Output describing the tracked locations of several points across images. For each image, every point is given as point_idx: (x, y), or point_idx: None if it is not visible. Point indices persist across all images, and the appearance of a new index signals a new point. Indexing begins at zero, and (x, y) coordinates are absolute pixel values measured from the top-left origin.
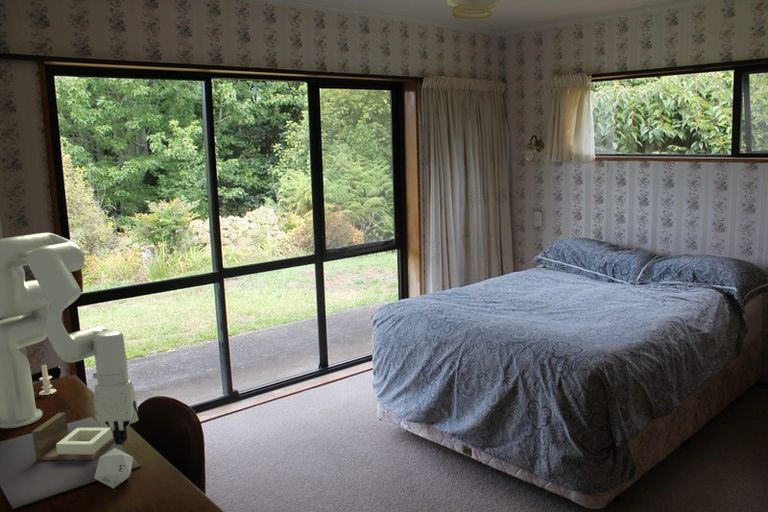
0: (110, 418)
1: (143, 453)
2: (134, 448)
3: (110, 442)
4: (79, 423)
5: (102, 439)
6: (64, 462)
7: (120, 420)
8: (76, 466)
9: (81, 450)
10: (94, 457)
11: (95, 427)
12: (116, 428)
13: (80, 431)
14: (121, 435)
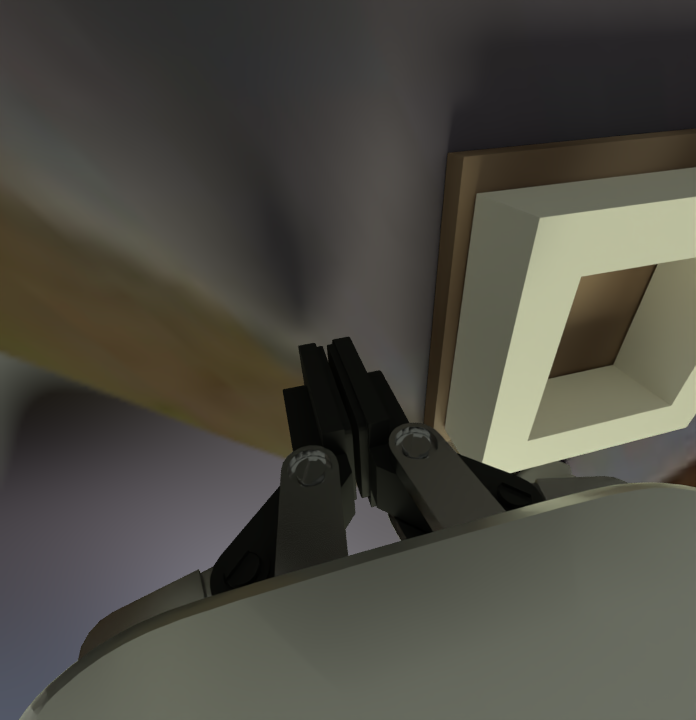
0: (482, 586)
1: (88, 329)
2: (236, 376)
3: (434, 388)
4: (634, 482)
5: (482, 363)
6: (663, 88)
7: (252, 601)
8: (556, 3)
9: (595, 188)
10: (453, 175)
11: (569, 474)
12: (377, 460)
13: (660, 401)
14: (313, 413)
